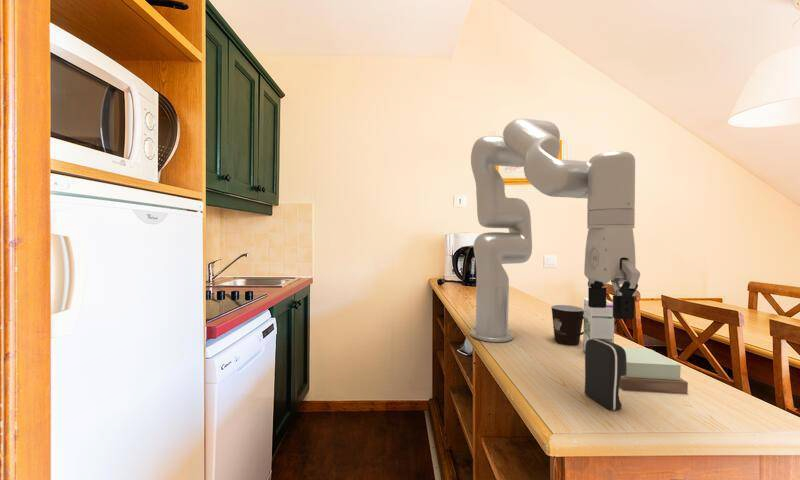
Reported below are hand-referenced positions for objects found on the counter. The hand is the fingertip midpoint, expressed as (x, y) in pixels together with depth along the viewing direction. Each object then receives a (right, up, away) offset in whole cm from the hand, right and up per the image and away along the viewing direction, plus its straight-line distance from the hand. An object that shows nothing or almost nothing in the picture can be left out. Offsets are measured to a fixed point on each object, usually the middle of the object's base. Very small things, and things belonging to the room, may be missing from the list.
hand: (609, 312), depth 64 cm
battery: (0, -17, +1) cm, 17 cm away
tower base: (+13, -18, +11) cm, 24 cm away
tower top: (+13, -15, +11) cm, 22 cm away
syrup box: (+12, -17, +26) cm, 33 cm away
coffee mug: (+9, -17, +35) cm, 40 cm away
